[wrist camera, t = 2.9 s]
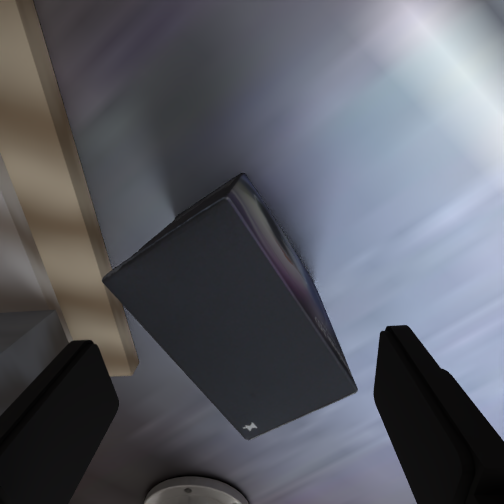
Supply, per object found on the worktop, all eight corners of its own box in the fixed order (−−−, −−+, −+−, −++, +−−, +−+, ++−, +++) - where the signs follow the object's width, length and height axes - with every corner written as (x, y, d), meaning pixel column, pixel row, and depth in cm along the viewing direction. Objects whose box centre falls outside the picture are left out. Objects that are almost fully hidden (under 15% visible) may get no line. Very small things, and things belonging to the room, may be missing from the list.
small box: (320, 284, 22) (369, 397, 12) (251, 320, 23) (244, 448, 13) (246, 166, 19) (231, 190, 9) (172, 217, 20) (89, 284, 10)
